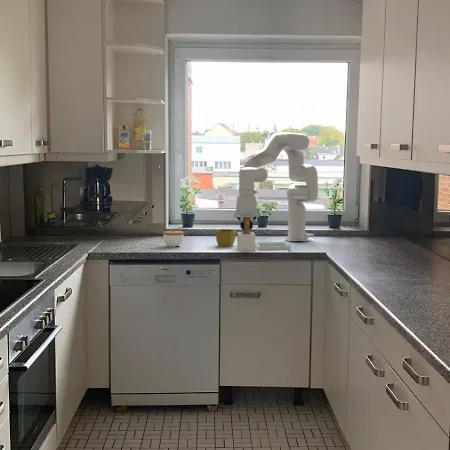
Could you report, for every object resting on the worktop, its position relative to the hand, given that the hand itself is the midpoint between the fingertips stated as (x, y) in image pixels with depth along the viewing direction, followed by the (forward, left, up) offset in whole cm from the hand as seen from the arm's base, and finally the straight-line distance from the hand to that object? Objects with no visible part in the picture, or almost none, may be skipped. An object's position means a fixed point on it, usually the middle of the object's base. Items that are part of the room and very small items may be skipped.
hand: (246, 229), depth 321 cm
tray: (-14, -3, -11) cm, 18 cm away
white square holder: (0, 0, -11) cm, 11 cm away
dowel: (0, 0, -10) cm, 10 cm away
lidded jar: (+36, -18, -11) cm, 42 cm away
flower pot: (+9, -12, -11) cm, 19 cm away
